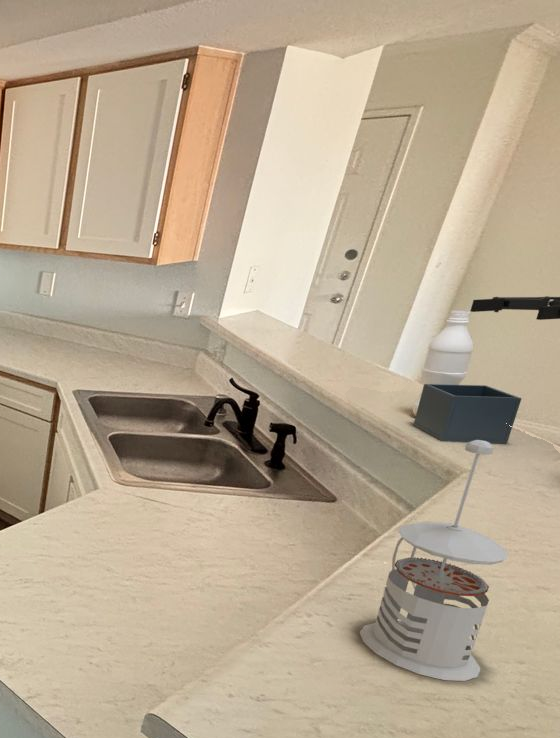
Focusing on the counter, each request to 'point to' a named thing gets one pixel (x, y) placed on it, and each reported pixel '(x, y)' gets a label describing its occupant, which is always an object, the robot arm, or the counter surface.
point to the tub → (466, 413)
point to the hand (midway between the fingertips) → (504, 309)
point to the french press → (435, 597)
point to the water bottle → (448, 354)
